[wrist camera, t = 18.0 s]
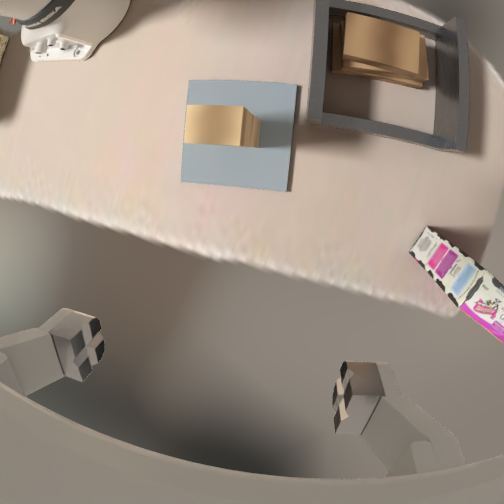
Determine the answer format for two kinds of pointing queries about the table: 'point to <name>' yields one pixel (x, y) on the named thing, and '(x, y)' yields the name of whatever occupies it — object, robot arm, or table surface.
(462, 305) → the candy bar box
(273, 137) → the slate mat
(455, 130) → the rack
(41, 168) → the table surface
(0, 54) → the storage basket
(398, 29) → the offcut stack
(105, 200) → the table surface
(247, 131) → the tan wooden block
